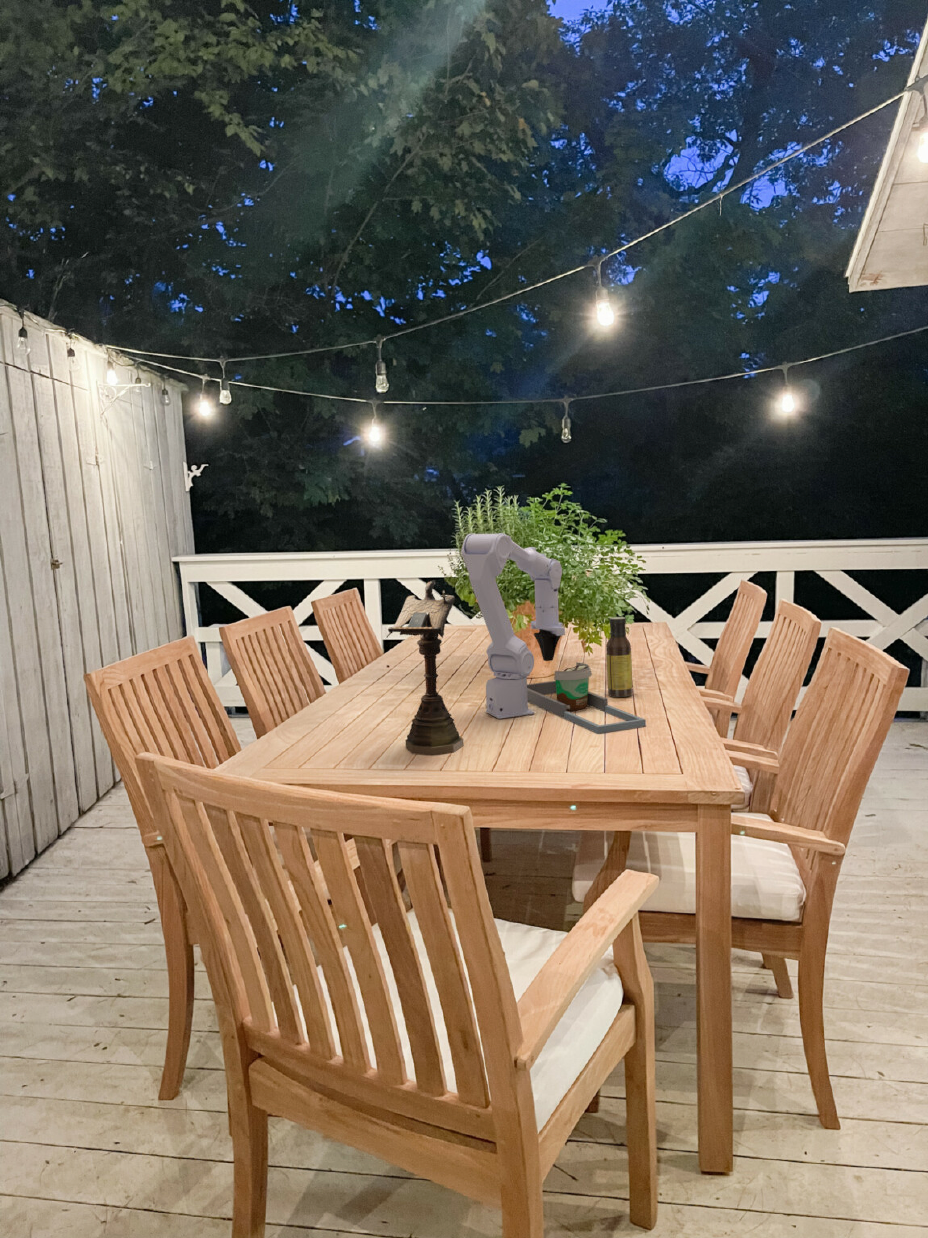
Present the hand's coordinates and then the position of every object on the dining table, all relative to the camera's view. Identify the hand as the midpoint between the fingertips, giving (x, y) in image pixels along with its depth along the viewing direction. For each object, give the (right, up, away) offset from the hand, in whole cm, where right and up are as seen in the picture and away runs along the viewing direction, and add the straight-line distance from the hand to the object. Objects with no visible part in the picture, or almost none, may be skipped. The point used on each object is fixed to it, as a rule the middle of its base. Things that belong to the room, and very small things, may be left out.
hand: (548, 660), depth 209 cm
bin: (+3, -11, -4) cm, 12 cm away
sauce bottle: (+18, -9, +2) cm, 21 cm away
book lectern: (-27, -17, -39) cm, 50 cm away
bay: (+10, -13, -22) cm, 27 cm away
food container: (+6, -11, -9) cm, 16 cm away
